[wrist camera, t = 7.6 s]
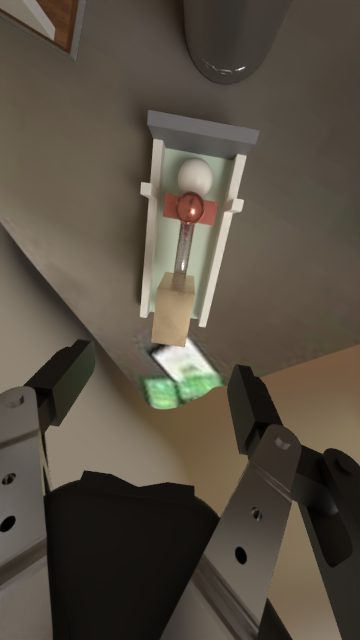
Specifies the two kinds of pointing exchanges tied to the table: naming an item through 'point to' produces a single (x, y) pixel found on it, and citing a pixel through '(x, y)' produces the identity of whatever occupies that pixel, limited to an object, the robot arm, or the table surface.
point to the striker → (180, 269)
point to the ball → (195, 177)
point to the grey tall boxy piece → (48, 21)
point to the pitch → (227, 167)
